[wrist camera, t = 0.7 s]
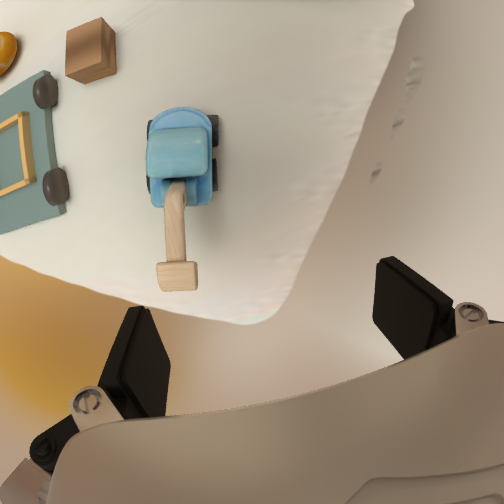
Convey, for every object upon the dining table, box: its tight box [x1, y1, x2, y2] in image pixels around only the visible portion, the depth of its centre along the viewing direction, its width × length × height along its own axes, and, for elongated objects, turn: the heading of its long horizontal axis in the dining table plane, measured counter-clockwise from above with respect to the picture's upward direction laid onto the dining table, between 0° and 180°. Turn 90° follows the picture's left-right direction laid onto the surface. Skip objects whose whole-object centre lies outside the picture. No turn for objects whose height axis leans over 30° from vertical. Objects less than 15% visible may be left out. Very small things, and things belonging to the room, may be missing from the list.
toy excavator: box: [146, 107, 219, 292], centre depth 27 cm, size 9×17×17 cm, turn 0°
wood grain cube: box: [65, 17, 117, 84], centre depth 24 cm, size 7×5×6 cm
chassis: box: [0, 70, 69, 235], centre depth 26 cm, size 22×18×5 cm
